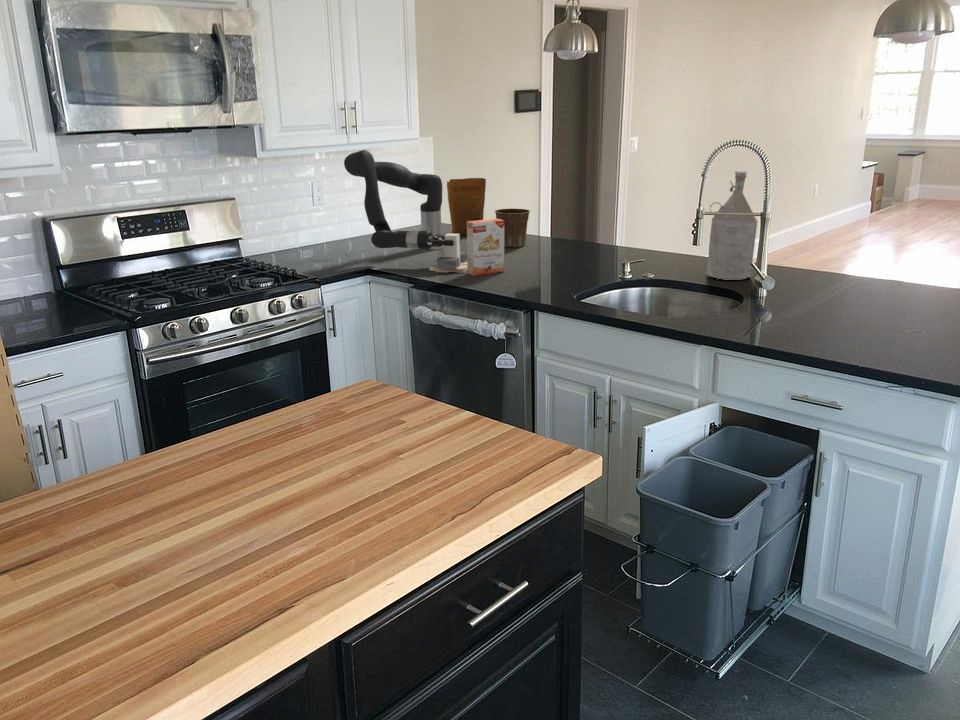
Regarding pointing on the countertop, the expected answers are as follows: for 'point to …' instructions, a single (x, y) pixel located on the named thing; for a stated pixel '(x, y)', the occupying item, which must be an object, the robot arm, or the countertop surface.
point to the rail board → (460, 270)
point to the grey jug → (732, 236)
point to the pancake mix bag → (465, 202)
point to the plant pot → (514, 226)
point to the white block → (455, 249)
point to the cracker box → (485, 246)
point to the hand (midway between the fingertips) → (456, 241)
